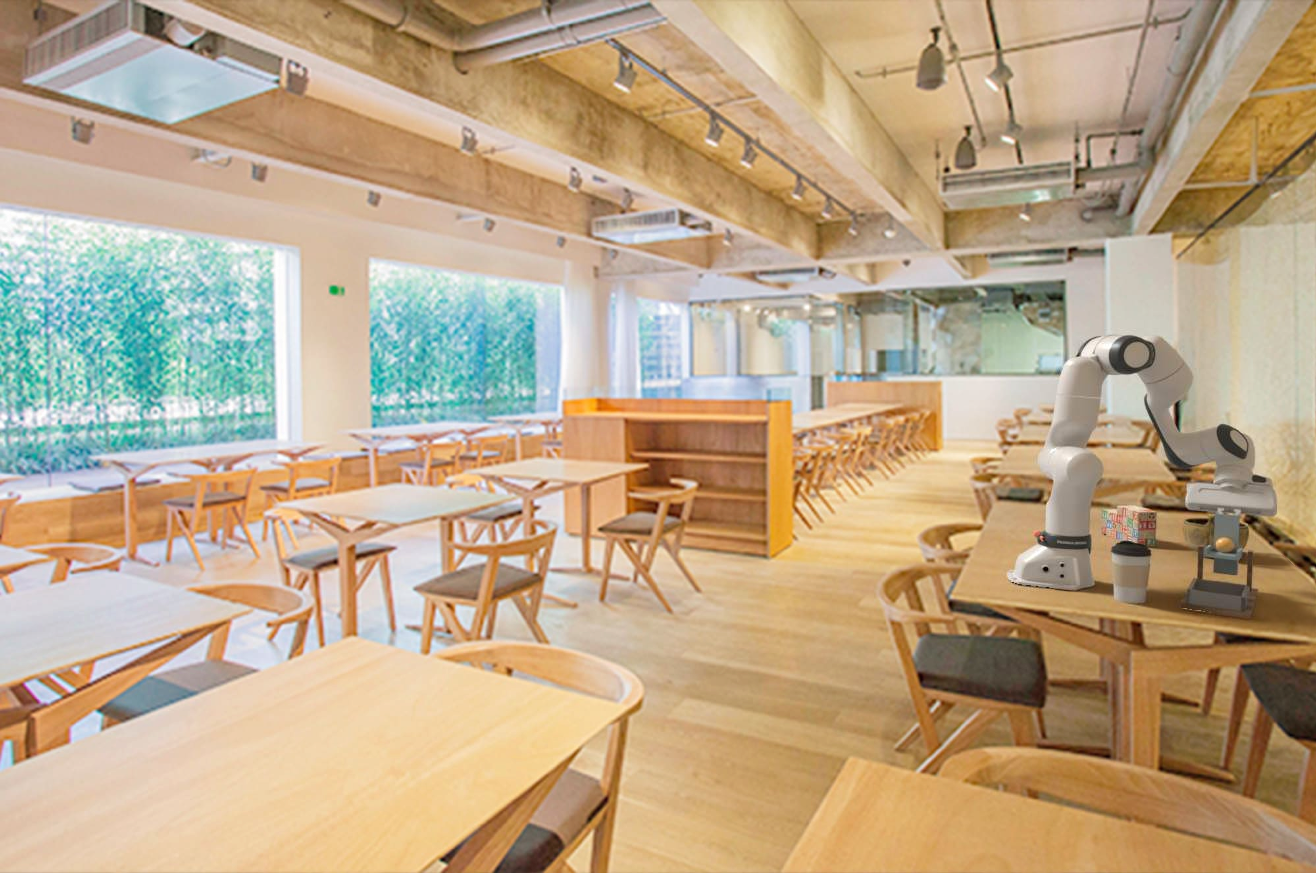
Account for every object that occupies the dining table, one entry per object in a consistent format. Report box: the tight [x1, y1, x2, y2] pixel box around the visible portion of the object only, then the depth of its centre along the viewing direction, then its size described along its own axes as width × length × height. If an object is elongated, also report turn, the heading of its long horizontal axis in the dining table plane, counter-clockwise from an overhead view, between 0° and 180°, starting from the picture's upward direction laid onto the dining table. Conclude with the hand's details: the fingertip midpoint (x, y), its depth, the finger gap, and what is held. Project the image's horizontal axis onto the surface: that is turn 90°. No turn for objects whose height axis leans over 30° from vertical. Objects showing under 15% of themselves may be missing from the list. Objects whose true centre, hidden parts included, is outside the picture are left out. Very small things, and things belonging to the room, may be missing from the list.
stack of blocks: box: [1101, 504, 1158, 548], centre depth 267 cm, size 21×6×12 cm, turn 0°
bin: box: [1186, 577, 1249, 612], centre depth 192 cm, size 14×12×4 cm
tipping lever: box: [1204, 513, 1247, 576], centre depth 201 cm, size 18×9×16 cm, turn 139°
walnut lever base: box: [1179, 545, 1259, 620], centre depth 196 cm, size 26×14×12 cm, turn 139°
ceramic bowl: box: [1182, 512, 1250, 553], centre depth 243 cm, size 22×17×15 cm
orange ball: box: [1216, 538, 1234, 553], centre depth 202 cm, size 4×4×4 cm
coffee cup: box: [1110, 541, 1153, 605], centre depth 199 cm, size 9×9×15 cm
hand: (1227, 523), depth 206 cm, fingers closed
